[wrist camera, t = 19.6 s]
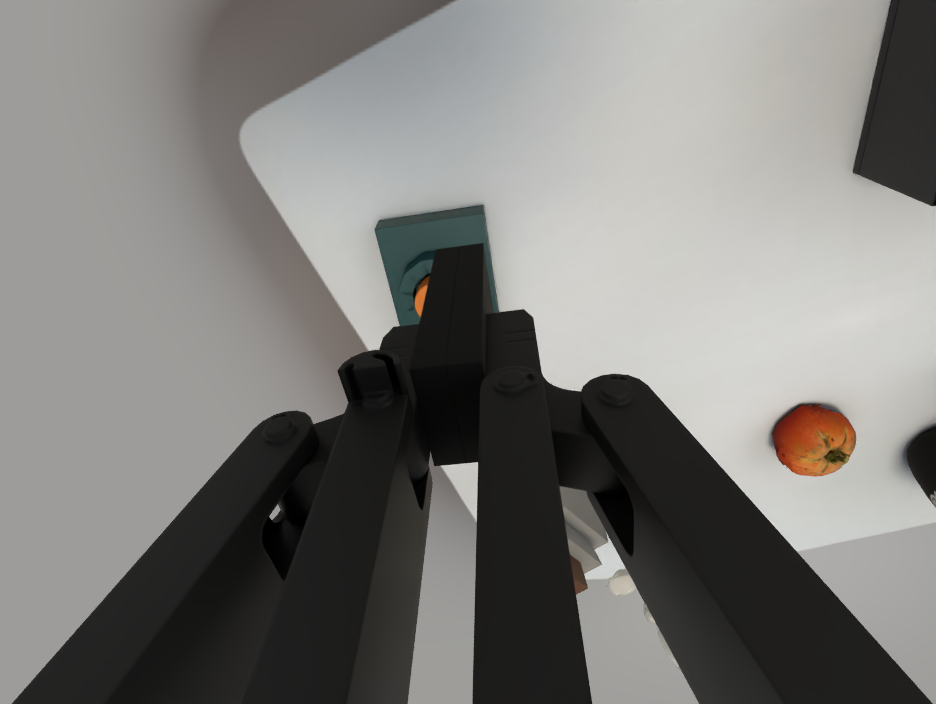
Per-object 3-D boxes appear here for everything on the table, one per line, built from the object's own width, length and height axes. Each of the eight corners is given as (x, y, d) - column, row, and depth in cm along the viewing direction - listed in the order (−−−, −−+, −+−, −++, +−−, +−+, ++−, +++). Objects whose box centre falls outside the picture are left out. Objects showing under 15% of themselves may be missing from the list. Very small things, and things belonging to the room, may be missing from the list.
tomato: (845, 472, 57) (830, 503, 52) (775, 446, 61) (755, 472, 56) (871, 407, 53) (858, 434, 48) (795, 384, 58) (776, 406, 53)
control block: (378, 220, 45) (370, 236, 41) (483, 204, 44) (483, 220, 40) (409, 339, 51) (403, 362, 48) (501, 328, 50) (502, 350, 47)
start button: (412, 277, 44) (409, 286, 42) (459, 270, 43) (459, 279, 42) (422, 318, 46) (419, 328, 44) (467, 313, 45) (467, 323, 44)
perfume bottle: (584, 437, 57) (619, 589, 42) (536, 467, 60) (553, 621, 45) (543, 401, 55) (565, 549, 40) (496, 434, 57) (499, 585, 42)
